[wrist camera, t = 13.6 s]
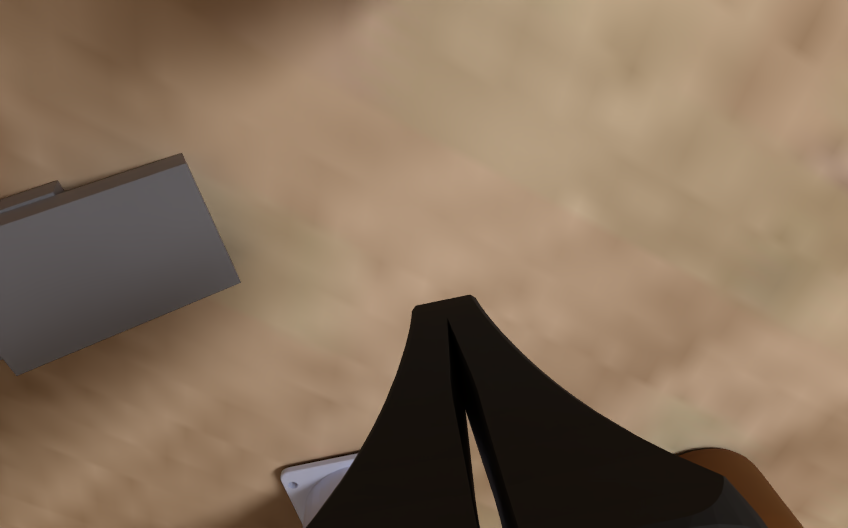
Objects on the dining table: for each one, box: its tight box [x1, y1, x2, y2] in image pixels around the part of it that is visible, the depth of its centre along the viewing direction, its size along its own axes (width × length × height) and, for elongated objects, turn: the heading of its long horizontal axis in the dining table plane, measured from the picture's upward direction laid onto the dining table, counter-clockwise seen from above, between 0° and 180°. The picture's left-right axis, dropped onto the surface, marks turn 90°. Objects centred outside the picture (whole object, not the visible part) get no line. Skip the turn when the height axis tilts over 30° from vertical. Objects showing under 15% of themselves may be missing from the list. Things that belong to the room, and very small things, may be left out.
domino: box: [0, 153, 241, 376], centre depth 19 cm, size 5×2×8 cm
